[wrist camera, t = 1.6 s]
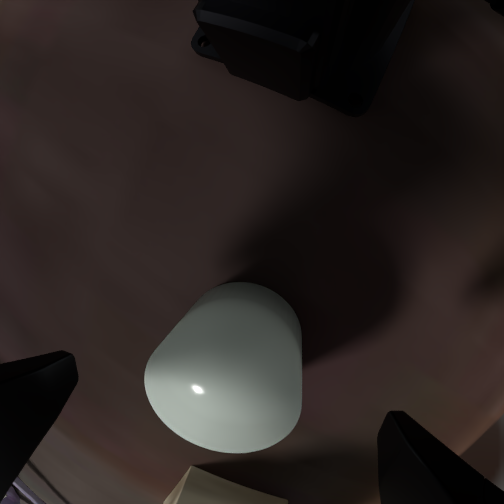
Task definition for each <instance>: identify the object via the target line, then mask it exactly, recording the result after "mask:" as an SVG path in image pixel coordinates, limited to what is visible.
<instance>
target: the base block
mask: <svg viewBox="0 0 504 504" xmlns="http://www.w3.org/2000/svg"><path fill="white" fill-rule="evenodd" d="M163 504H288V500H286V499H282V498H279V497H275V496H272V495H269V494H266V493H262V492H259V491H256V490H253V489H250V488H247V487H244V486H242V485H239V484H236V483H233V482H231V481H228V480H225V479H223V478H220V477H218V476H215V475H213V474H210V473H208V472H206V471H203V470H201V469H199V468H197V467H194V466H191V467H190V468H189V470H188V471H187V472H186V474H185V475H184V476H183V478H182V479H181V480H180V482H179V483H178V484H177V486H176V487H175V488H174V489H173V491H172V492H171V493H170V495H169V496H168V497H167V498H166V500H165V501H164V503H163Z"/></svg>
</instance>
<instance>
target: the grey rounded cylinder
mask: <svg viewBox="0 0 504 504" xmlns="http://www.w3.org/2000/svg"><path fill="white" fill-rule="evenodd" d="M144 380H145V389H146V393H147V396H148V399H149V402H150V404H151V405H152V407H153V409H154V411H155V412H156V414H157V415H158V416H159V418H160V419H161V420H162V421H163V422H164V423H165V424H166V425H167V426H168V427H169V428H170V429H171V430H173V431H174V432H175V433H176V434H178V435H179V436H181V437H182V438H184V439H186V440H188V441H190V442H191V443H193V444H196V445H198V446H201V447H204V448H207V449H210V450H214V451H219V452H226V453H248V452H254V451H258V450H262V449H265V448H268V447H270V446H272V445H274V444H276V443H278V442H279V441H281V440H282V439H283V438H285V437H286V436H287V435H288V434H289V433H290V432H291V431H292V429H293V428H294V427H295V425H296V423H297V421H298V419H299V416H300V413H301V406H302V334H301V327H300V323H299V320H298V318H297V315H296V314H295V312H294V310H293V309H292V307H291V306H290V305H289V304H288V303H287V302H286V301H285V300H284V299H283V298H282V297H281V296H280V295H278V294H277V293H275V292H274V291H272V290H270V289H268V288H266V287H263V286H261V285H257V284H254V283H247V282H232V283H226V284H222V285H219V286H217V287H214V288H213V289H211V290H209V291H208V292H206V293H205V294H204V295H202V296H201V297H200V298H199V299H198V301H197V302H196V303H195V304H194V305H193V306H192V308H191V309H190V310H189V311H188V312H187V313H186V315H185V316H184V317H183V318H182V319H181V320H180V322H179V323H178V324H177V325H176V326H175V327H174V329H173V330H172V331H171V332H170V333H169V334H168V336H167V337H166V338H165V339H164V340H163V342H162V343H161V344H160V345H159V346H158V347H157V349H156V350H155V351H154V352H153V354H152V355H151V357H150V359H149V361H148V363H147V366H146V370H145V378H144Z"/></svg>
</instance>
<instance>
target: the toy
mask: <svg viewBox="0 0 504 504" xmlns="http://www.w3.org/2000/svg"><path fill="white" fill-rule="evenodd" d="M13 484H14V485H15V486H16V487H17V488H18V489H19V490H20V491H21V492H22V493H23V494H24V495H26V496H27V497H28V498H29V499H30V500H31V501H32V502H33V503H34V504H46V503H45V502H44V501H42V500H41V499H40V498H39V497H38V496H37V495H36V494H35V493H34V492H33V491H31V490H30V489H29V488H28V487H27V486H26V485H25V484H24V483H23V481H22V480H21V479H20V478H19V477H18V476H17V478H16V479H15V481H14V482H13ZM6 494H8V495H7V497H5V498H4V499H3V500H2V501H1V503H0V504H20V498H19V496H18V495H17V494H16V492H15V490H14V488H13V487H12V486H11V487H10V489H9V490H8V492H7V493H6Z"/></svg>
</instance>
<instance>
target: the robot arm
mask: <svg viewBox="0 0 504 504" xmlns="http://www.w3.org/2000/svg"><path fill="white" fill-rule="evenodd" d="M198 1H199V2H198V4H197V5H196V7H195V8H194V10H193V14H194V16H195V19H196V21H197V23H198V25H199V28H198V30H197V31H196V33H195V35H194V36H193V38H192V41H191V46H192V48H193V49H194V51H195V52H196V53H197V54H198V55H200V56H202V57H205V58H209V59H212V60H215V61H218V62H221V63H224V65H225V66H226V68H227V69H228V71H229V73H230V74H232V75H234V76H237V77H240V78H242V79H245V80H248V81H251V82H253V83H256V84H258V85H261V86H264V87H266V88H269V89H271V90H273V91H276V92H278V93H281V94H283V95H285V96H288V97H290V98H292V99H295V100H297V101H301V100H304V99H307V98H308V97H311V98H314V99H316V100H318V101H320V102H322V103H324V104H326V105H328V106H330V107H333V108H335V109H337V110H339V111H341V112H343V113H344V114H346V115H349V116H352V117H359V116H361V115H363V114H364V113H365V112H366V111H367V110H368V108H369V107H370V105H371V102H372V100H373V98H374V96H375V94H376V91H377V89H378V87H379V85H380V82H381V80H382V78H383V75H384V73H385V71H386V69H387V66H388V64H389V62H390V59H391V57H392V55H393V52H394V50H395V47H396V45H397V43H398V40H399V38H400V36H401V33H402V31H403V28H404V26H405V23H406V21H407V18H408V16H409V13H410V11H411V8H412V6H413V3H414V1H415V0H198ZM485 1H486V2H488V3H490V6H491V8H492V9H493V10H494V11H496V12H497V13H499V14H501V15H502V16H504V0H485ZM205 40H209V41H210V44H209V45H208V46H206V47H201V44H202V43H203V42H204V41H205ZM350 96H355V97H357V98H358V99H359V100H360V102H361V106H360V107H353V106H352V105H350V104H349V102H348V97H350ZM77 382H78V371H77V367H76V362H75V357H74V356H73V354H71V353H69V352H66V351H63V350H61V351H56V352H52V353H48V354H44V355H39V356H35V357H30V358H26V359H21V360H17V361H12V362H7V363H3V364H0V503H1V501H2V500H3V498H4V496H5V495H6V493H7V492H8V490H9V489H10V487H11V486H12V484H13V482H14V481H15V479H16V478H17V476H18V475H19V473H20V472H21V470H22V469H23V467H24V466H25V464H26V463H27V461H28V460H29V458H30V457H31V455H32V454H33V452H34V451H35V449H36V448H37V446H38V445H39V444H40V442H41V441H42V439H43V438H44V436H45V435H46V434H47V432H48V431H49V429H50V428H51V426H52V425H53V424H54V422H55V421H56V419H57V418H58V416H59V414H60V413H61V411H62V409H63V407H64V405H65V404H66V402H67V400H68V398H69V397H70V395H71V393H72V391H73V390H74V388H75V386H76V385H77ZM377 445H378V478H379V491H380V499H381V504H504V491H503V490H501V489H500V488H498V487H497V486H496V485H494V484H493V483H492V482H491V481H489V480H488V479H487V478H485V479H484V476H483V475H482V474H480V473H479V472H478V471H476V470H475V469H474V468H473V467H471V466H470V465H469V464H468V463H466V462H465V461H464V460H463V459H461V458H460V457H459V456H458V455H456V454H455V453H454V452H453V451H452V450H450V449H449V448H448V447H447V446H445V445H444V444H443V443H442V442H440V441H439V440H438V439H437V438H436V437H434V436H433V435H432V434H431V433H429V432H428V431H427V430H426V429H425V428H423V427H422V426H421V425H420V424H418V423H417V422H416V421H415V420H414V419H412V418H411V417H410V416H409V415H408V414H406V413H405V412H404V411H389V412H388V413H387V415H386V417H385V419H384V421H383V424H382V426H381V428H380V430H379V432H378V437H377Z"/></svg>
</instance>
